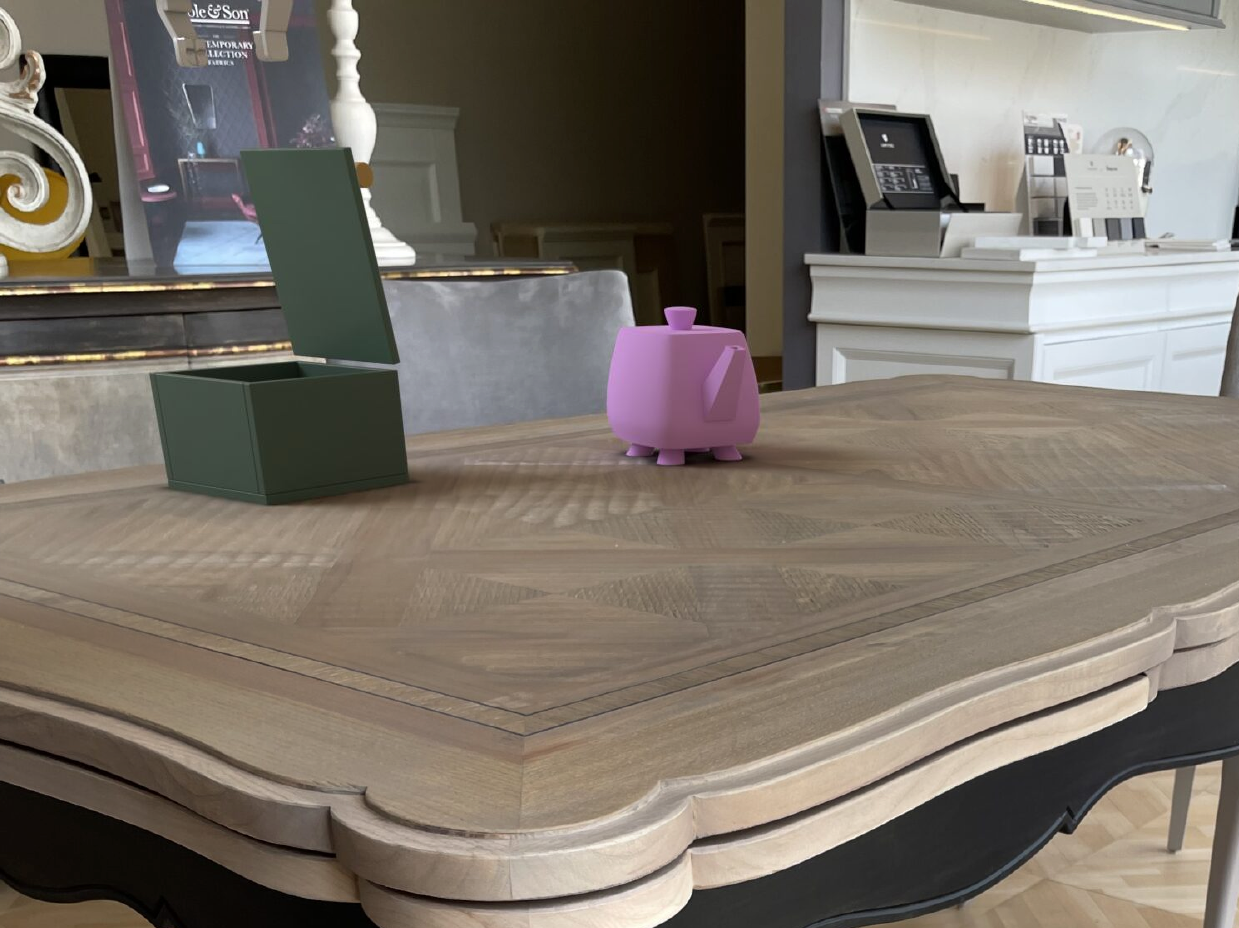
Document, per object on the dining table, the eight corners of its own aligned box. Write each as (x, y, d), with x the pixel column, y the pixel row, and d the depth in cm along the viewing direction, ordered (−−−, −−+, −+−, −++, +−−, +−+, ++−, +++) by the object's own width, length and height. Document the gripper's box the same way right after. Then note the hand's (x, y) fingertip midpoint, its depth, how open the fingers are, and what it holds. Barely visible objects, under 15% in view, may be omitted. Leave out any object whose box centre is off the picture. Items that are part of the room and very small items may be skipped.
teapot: (578, 448, 151) (570, 302, 145) (691, 440, 157) (688, 299, 151) (678, 477, 136) (674, 316, 130) (798, 467, 142) (800, 312, 136)
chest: (267, 506, 122) (249, 383, 117) (169, 489, 128) (148, 372, 124) (410, 483, 132) (398, 369, 128) (312, 468, 138) (298, 360, 134)
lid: (343, 148, 118) (396, 136, 121) (238, 149, 124) (291, 138, 128) (393, 365, 127) (441, 348, 131) (293, 355, 134) (341, 340, 137)
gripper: (69, -161, 112) (112, 68, 119) (249, -198, 101) (285, 55, 108) (146, -148, 116) (183, 72, 123) (327, -182, 106) (356, 60, 113)
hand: (232, 64), depth 116 cm, fingers open, 8 cm apart
